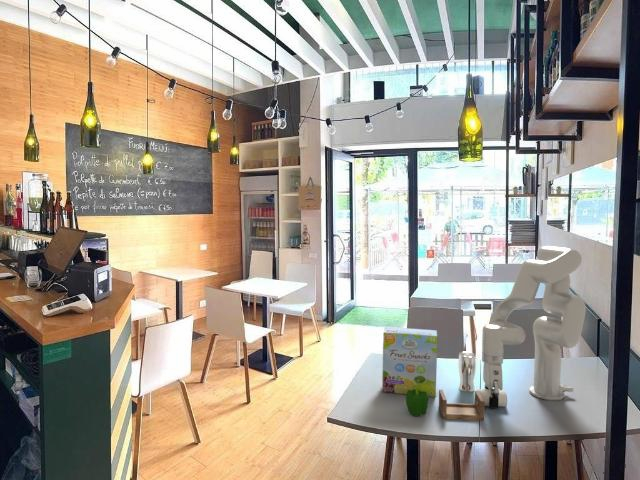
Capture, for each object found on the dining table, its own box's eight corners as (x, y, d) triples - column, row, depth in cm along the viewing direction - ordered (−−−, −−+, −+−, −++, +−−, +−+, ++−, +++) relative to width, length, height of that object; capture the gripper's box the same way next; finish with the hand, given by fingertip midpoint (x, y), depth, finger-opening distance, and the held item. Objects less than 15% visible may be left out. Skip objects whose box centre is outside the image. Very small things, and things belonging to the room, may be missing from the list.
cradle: (477, 408, 167) (478, 390, 167) (484, 420, 158) (484, 401, 158) (438, 407, 169) (439, 389, 168) (442, 418, 160) (443, 399, 159)
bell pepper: (429, 419, 159) (429, 392, 158) (405, 417, 161) (406, 391, 160) (427, 408, 167) (427, 383, 167) (405, 407, 169) (405, 381, 168)
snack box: (381, 393, 181) (382, 331, 179) (383, 384, 190) (383, 326, 187) (436, 398, 176) (437, 335, 174) (435, 389, 185) (436, 329, 183)
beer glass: (476, 393, 180) (477, 357, 179) (458, 392, 182) (459, 356, 181) (474, 386, 187) (475, 352, 186) (457, 385, 189) (457, 351, 187)
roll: (502, 402, 173) (502, 387, 172) (507, 409, 167) (507, 394, 166) (475, 401, 174) (475, 386, 173) (479, 408, 168) (479, 393, 167)
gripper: (509, 366, 160) (508, 414, 161) (495, 350, 177) (494, 394, 178) (488, 365, 160) (487, 413, 162) (476, 349, 177) (475, 393, 179)
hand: (491, 402), depth 170 cm, fingers closed on roll, 6 cm apart
